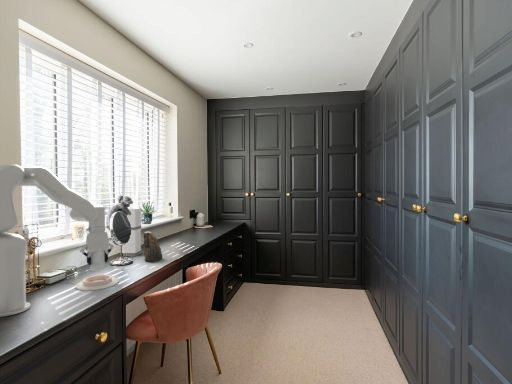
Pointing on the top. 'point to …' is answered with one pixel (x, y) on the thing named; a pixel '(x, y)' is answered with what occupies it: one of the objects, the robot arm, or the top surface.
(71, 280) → the top surface
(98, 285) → the vanity tray
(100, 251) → the skincare box
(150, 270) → the top surface
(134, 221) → the white tall boxy piece
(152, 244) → the rock
